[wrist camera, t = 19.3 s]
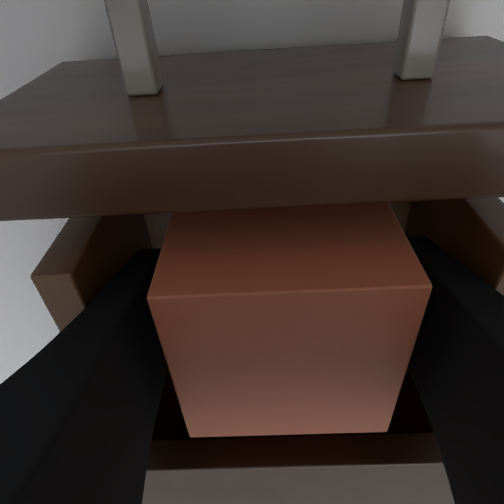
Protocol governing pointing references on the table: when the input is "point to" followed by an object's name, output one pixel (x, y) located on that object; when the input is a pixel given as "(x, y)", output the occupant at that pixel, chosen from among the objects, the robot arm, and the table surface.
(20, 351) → the table surface
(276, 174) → the drawer
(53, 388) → the robot arm
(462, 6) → the table surface
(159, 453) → the cabinet
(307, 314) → the block
